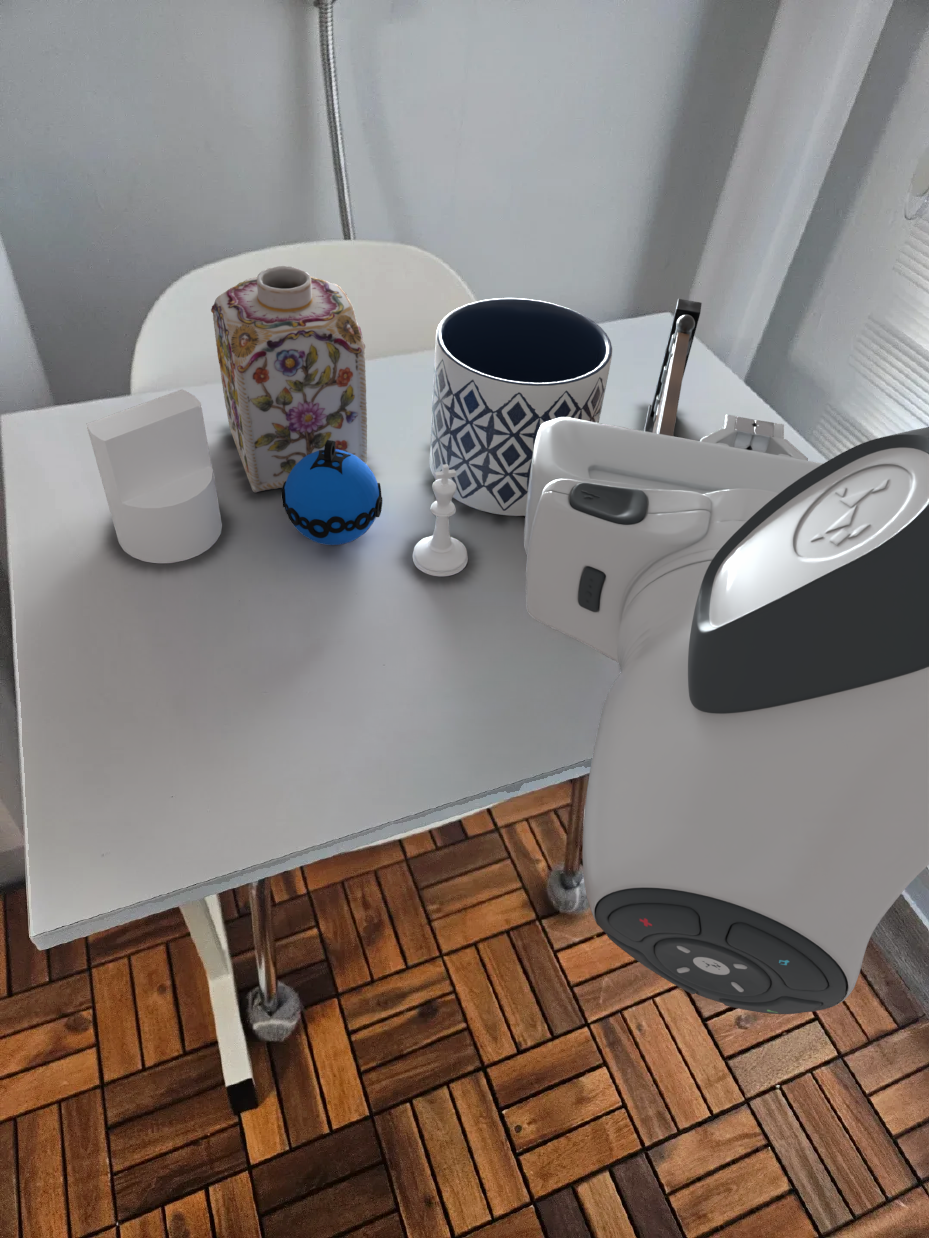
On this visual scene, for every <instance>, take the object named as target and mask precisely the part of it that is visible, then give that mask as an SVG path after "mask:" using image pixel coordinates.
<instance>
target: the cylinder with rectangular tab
mask: <svg viewBox="0 0 929 1238" xmlns="http://www.w3.org/2000/svg"><path fill="white" fill-rule="evenodd" d="M86 428H87V434H88V436H89V440H90V444H91V448H92V451H93V455H94V458H95V461H96V465H97V468H98V469H97V470H98V473H99V475H100V480H101V483H102V487H103V491H104V494H105V498H106V502H107V505H108V508H109V512H110V515H111V520H112V522H113V526H114V530H115V533H116V534H115V535H116V537H117V541H118V544H119V545H120V547H121V549H122V550H123V551H124V552H125V553H126V554H128V556H130V557H132V558H134V559H137V560H140V561H142V562H145V563H152V564H173V563H178V562H184V561H187V560H190V559H193V558H196V557H198V556H199V555H201V554H204V553H205V552H207V551H208V550H209V549H210V548H212V547H213V546H214V545H215V544H216V543H217V541H218V540H219V538H220V535H221V534H222V528H223V522H222V517H221V511H220V505H219V499H218V492H217V486H216V479H215V475H214V470H213V469H214V468H213V466H212V460H211V455H210V449H209V443H208V436H207V431H206V425H205V419H204V412H203V406H202V402H201V401H200V400H199V398H197V397H196V396H195V395H194V394H192V393H190V392H189V391H187V390H185V389H183V388H182V389H179V390H176V391H173V392H171V393H168V394H164V395H162V396H159V397H157V398H154V399H151V400H148V401H145V402H143V403H141V404H137V405H134V406H132V407H129V408H126V409H123V410H120V411H118V412H115V413H112V414H109V415H107V416H104V417H101V418H98V419H95V420H92V421H90V422H87V423H86Z"/></svg>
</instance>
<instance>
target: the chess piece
mask: <svg viewBox="0 0 929 1238" xmlns="http://www.w3.org/2000/svg"><path fill="white" fill-rule="evenodd" d="M434 477H435V478H434ZM450 477H456V472H455V470H454V469H453V470H449V466H448V464H444V465H442V471H440V472H435V476H433V478H434V482H433V483H432V485H431V488H432V491H433V493H434V496H435V501H434V502H432V504H431V506H430V512H431V514H433V515H434V516H436V518H435V524H434V529H433V533H432V535H428V536H426V537H423V538H422V539H421V540H419V541H418V542H417V543H416V544H415V545H414V548H413V552H412V561H413V564H414V566H415V567H416V568H417V569H418V570H419V571H421V572H423V573H424V574H426V575H429V576H433V577H450V576H454V575H456V574H458V573H461V571H463V570H464V569H465V568H466V566H467V565H468V560H469V558H468V549H467V548H466V546H465V545H464V543H463V542H461V541H460V540H459V539H457V538H455V537H453V536H451V531H450V521H449V520H450V517H451V516H453V515H454V514H455V513H456V510H457V508H456V506H455V504H454V503H453V502H452V500H453V495H454V493H455V491H456V484H455V482H453V481H452V480H450V479H448V478H450ZM435 479H436V480H435ZM437 479H438V480H437Z"/></svg>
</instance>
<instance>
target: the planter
mask: <svg viewBox="0 0 929 1238" xmlns="http://www.w3.org/2000/svg"><path fill="white" fill-rule="evenodd" d="M611 341H612V340H611V339H610V337H609V336H608V334H607V333H606V332H605V330H604V329H603V328H602V327H601V326H600V325H599V324H597V323H596V321H594V320H592V319H591V318H590V317H588V316H586V315H584V314H582V313H579V312H578V311H576V310H573V309H571V308H568V307H565V306H562V305H559V304H555V303H552V302H547V301H543V300H538V299H537V300H536V299H529V298H520V297H519V298H517V297H504V298H503V297H502V298H501V297H500V298H489V299H483V300H478V301H474V302H471V303H467V304H464V305H462V306H460V307H457V308H456V309H454V310H452V311H451V312H449V313H448V314H447V315H445V316H444V317H443V318H442V320H441V321H440V322H439V324H438V325H437V329H436V331H435V345H434V347H435V348H434V365H433V384H432V405H431V406H432V407H431V425H430V426H431V427H430V430H431V431H430V445H429V446H430V447H429V448H430V450H429V468H430V472H431V474H432V476H433V478H434V481H436V479H435V477H434V476H435V472H440V471H442V465H444V464H448V466H449V470H453V469H454V470H455V472H456V477H450V478H448V479H450V480H452V481H453V482H455V484H456V491H455V493H454V495H453V497H452V499H455V500H456V501H458V502H459V503H461V504H463V505H465V506H468V507H470V508H473V509H475V510H478V511H480V512H481V511H482V512H486V513H489V514H493V515H499V516H507V517H508V516H510V517H514V516H515V517H525V516H526V505H527V494H528V485H529V478H530V470H531V463H532V456H533V449H534V443H535V439H536V436H537V432H538V430H539V428H540V426H541V425H542V424H543V423H544V422H547V421H550V420H553V419H556V418H560V417H570V418H575V419H580V420H585V421H591V422H596V423H600V418H601V413H602V409H603V404H604V398H605V394H606V389H607V385H608V384H607V383H608V379H609V375H610V369H611V363H612V357H613V345H612V342H611ZM437 480H438V479H437Z"/></svg>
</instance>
